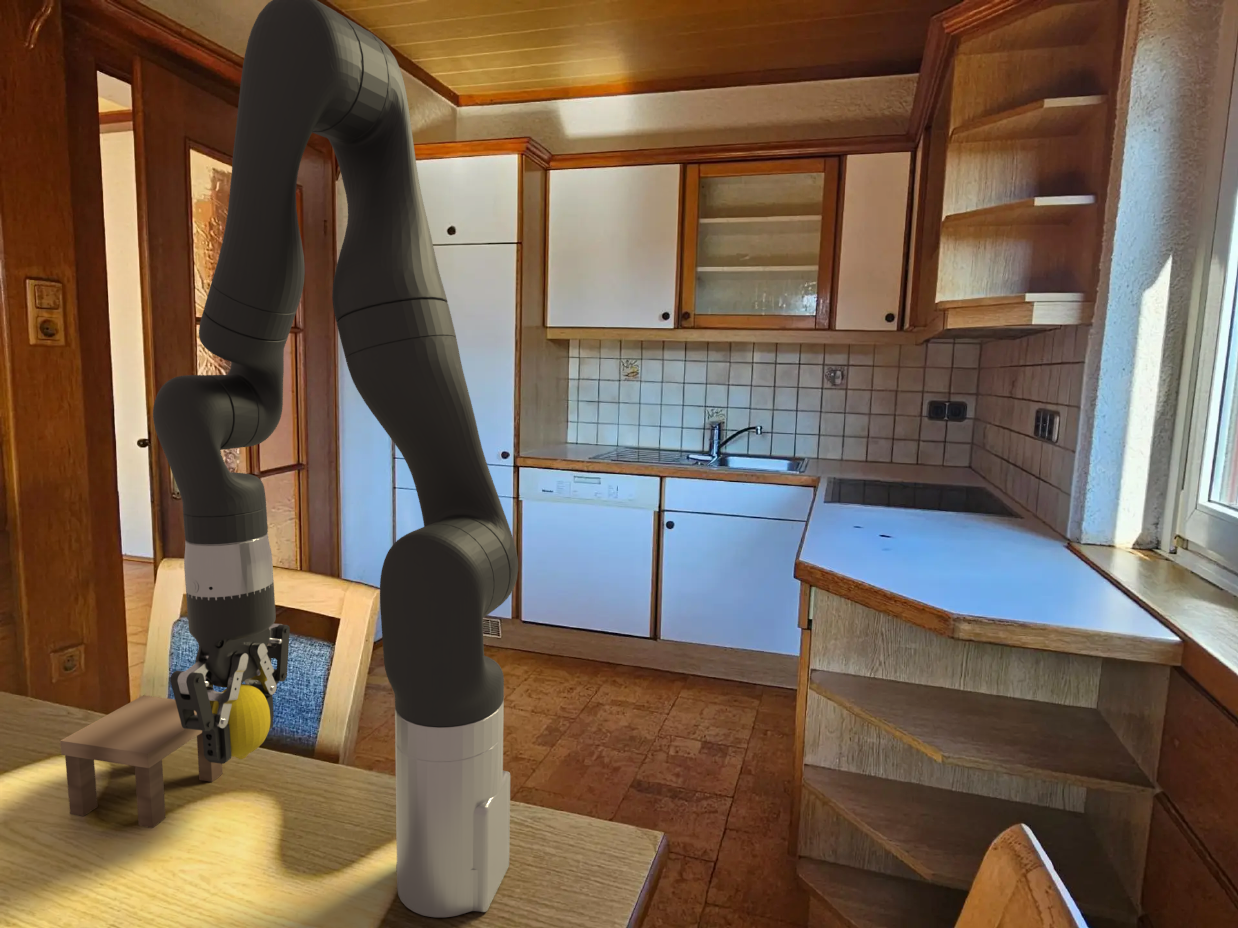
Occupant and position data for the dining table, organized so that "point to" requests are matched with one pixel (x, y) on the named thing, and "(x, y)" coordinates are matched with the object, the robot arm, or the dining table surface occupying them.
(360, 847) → the dining table surface
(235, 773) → the dining table surface
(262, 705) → the lemon
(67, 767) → the stool
